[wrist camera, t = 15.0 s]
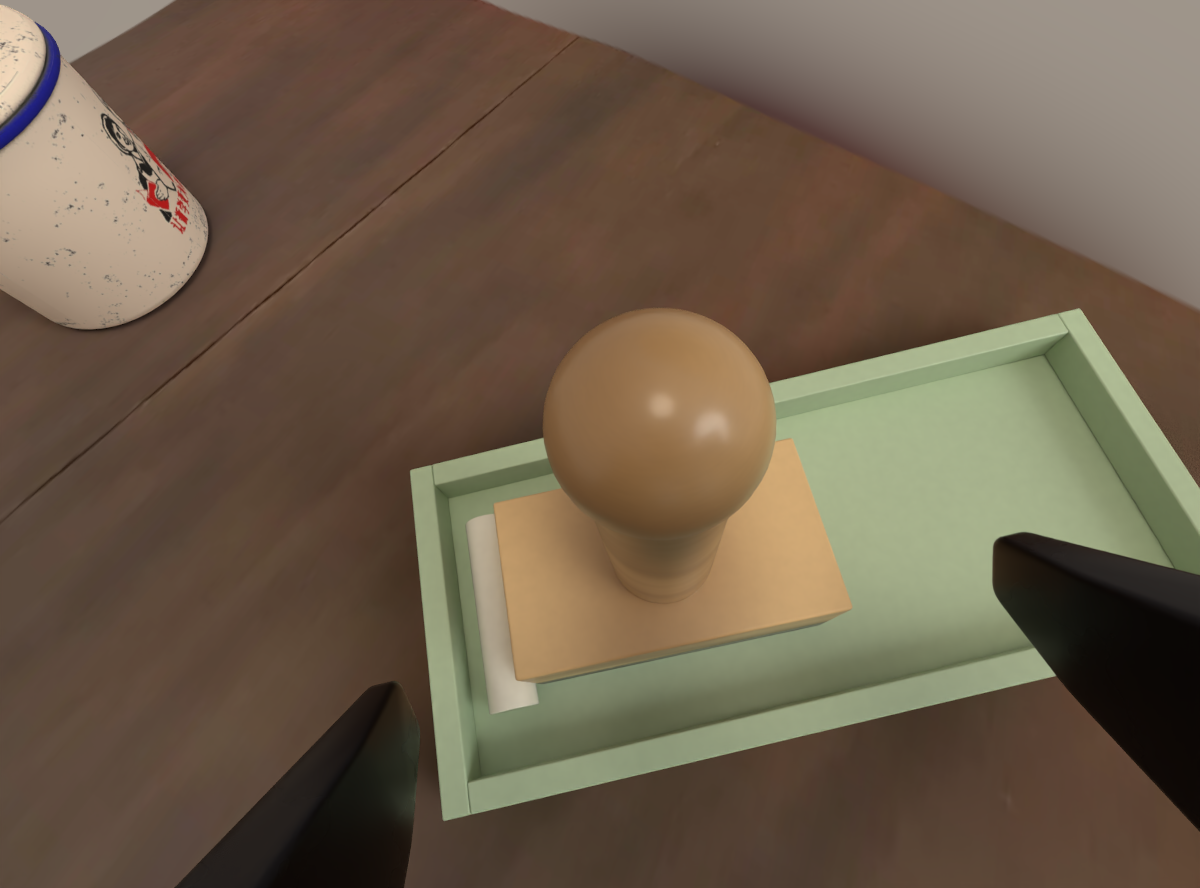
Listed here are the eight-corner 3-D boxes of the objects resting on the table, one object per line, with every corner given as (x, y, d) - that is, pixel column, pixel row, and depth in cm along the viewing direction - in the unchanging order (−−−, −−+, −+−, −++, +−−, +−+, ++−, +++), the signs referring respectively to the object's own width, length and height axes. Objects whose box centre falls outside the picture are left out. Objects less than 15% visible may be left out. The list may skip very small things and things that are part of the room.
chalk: (517, 518, 21) (480, 531, 21) (494, 510, 20) (456, 523, 20) (547, 702, 19) (506, 713, 19) (524, 706, 17) (479, 717, 18)
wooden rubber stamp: (773, 478, 21) (933, 142, 8) (821, 625, 19) (1128, 474, 6) (519, 533, 21) (302, 286, 8) (541, 684, 19) (298, 654, 6)
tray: (1041, 343, 23) (1080, 307, 21) (1217, 630, 18) (1288, 620, 16) (432, 491, 23) (409, 469, 21) (467, 808, 19) (441, 821, 16)
